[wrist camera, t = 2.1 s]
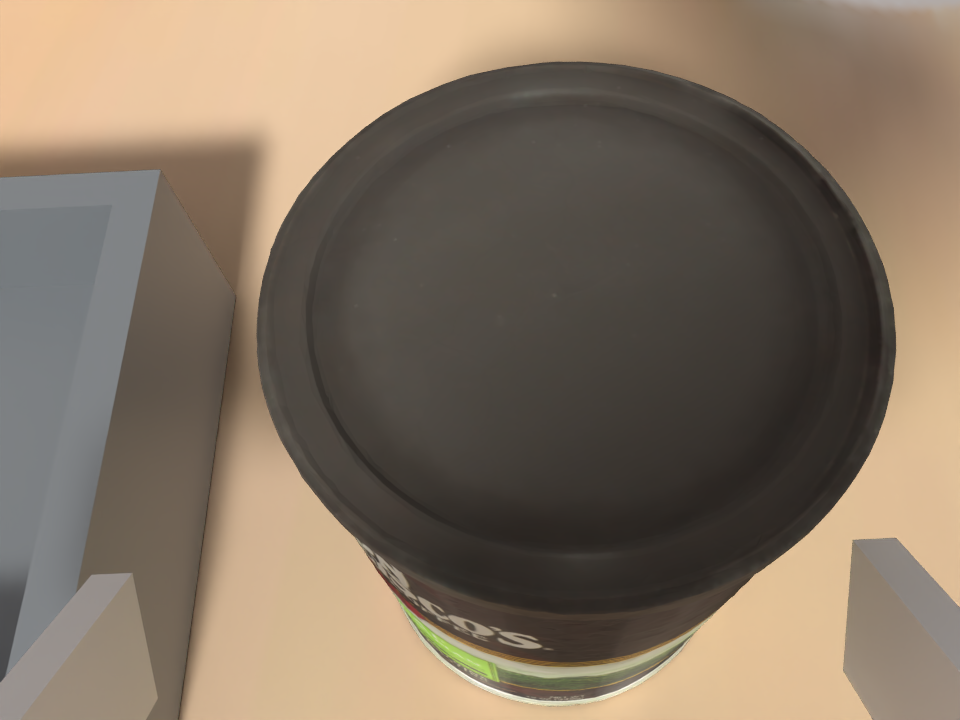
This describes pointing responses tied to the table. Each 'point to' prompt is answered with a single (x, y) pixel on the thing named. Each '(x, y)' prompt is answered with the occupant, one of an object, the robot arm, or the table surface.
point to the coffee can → (573, 363)
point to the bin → (106, 404)
